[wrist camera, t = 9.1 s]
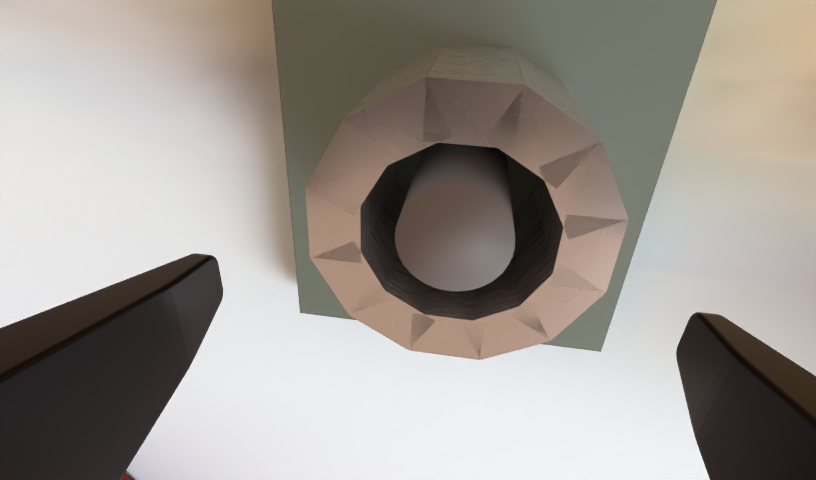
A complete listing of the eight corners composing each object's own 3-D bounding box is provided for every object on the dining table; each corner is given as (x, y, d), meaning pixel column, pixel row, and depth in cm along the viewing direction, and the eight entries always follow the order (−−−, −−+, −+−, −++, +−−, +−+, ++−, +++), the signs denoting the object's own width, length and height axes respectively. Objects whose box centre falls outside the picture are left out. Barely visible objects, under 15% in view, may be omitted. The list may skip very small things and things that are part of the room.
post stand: (593, 326, 20) (635, 469, 14) (311, 291, 21) (247, 409, 15) (719, -83, 13) (906, -125, 7) (283, -99, 14) (144, -145, 8)
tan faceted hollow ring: (557, 269, 17) (580, 373, 12) (357, 247, 18) (315, 337, 13) (609, 53, 13) (668, 94, 9) (355, 36, 14) (296, 67, 10)
